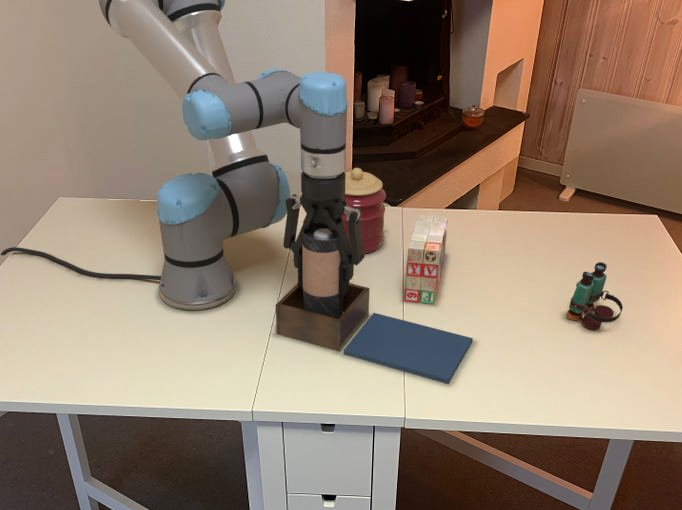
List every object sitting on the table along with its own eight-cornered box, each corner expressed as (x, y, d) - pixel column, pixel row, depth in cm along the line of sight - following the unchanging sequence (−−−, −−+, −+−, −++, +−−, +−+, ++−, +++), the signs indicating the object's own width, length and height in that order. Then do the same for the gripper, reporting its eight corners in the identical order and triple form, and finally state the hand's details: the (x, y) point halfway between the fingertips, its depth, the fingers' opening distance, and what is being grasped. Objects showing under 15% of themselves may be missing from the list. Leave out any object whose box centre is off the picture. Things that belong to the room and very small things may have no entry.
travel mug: (343, 336, 142) (344, 241, 130) (302, 336, 142) (300, 240, 130) (343, 314, 148) (345, 221, 136) (304, 313, 148) (302, 220, 136)
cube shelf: (276, 334, 142) (275, 304, 138) (308, 300, 152) (307, 272, 148) (339, 351, 138) (340, 322, 134) (368, 316, 148) (369, 287, 144)
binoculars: (619, 295, 136) (571, 271, 141) (601, 341, 143) (556, 315, 148) (643, 278, 141) (596, 255, 146) (624, 323, 148) (580, 299, 153)
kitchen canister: (390, 252, 169) (394, 177, 158) (334, 258, 166) (334, 182, 156) (374, 227, 179) (377, 155, 169) (321, 232, 177) (321, 159, 166)
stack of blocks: (416, 252, 169) (420, 201, 162) (444, 255, 168) (450, 204, 161) (403, 301, 152) (407, 246, 145) (434, 305, 151) (440, 250, 144)
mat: (343, 354, 137) (343, 349, 137) (373, 316, 148) (373, 312, 147) (448, 384, 130) (449, 379, 130) (472, 342, 141) (472, 338, 140)
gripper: (258, 168, 127) (265, 285, 141) (370, 190, 120) (365, 311, 134) (280, 153, 133) (284, 267, 146) (388, 174, 126) (382, 291, 139)
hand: (323, 288), depth 140 cm, fingers closed on travel mug, 8 cm apart
